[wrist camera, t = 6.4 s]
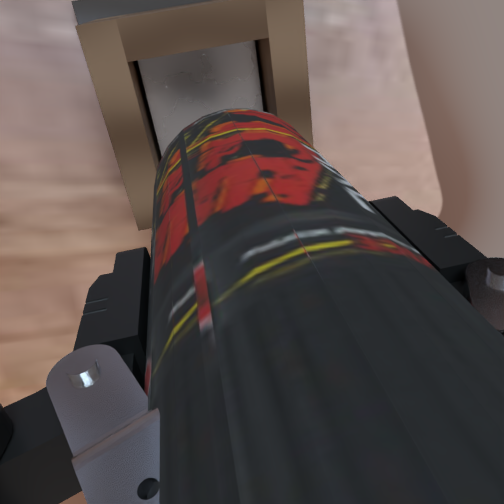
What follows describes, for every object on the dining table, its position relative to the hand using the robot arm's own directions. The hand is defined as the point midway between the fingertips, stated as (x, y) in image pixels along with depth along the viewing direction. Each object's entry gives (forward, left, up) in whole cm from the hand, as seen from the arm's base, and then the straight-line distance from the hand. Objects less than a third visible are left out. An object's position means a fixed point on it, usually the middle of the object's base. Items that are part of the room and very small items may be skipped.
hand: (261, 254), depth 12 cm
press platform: (0, 0, -20) cm, 20 cm away
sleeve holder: (0, 0, -25) cm, 25 cm away
